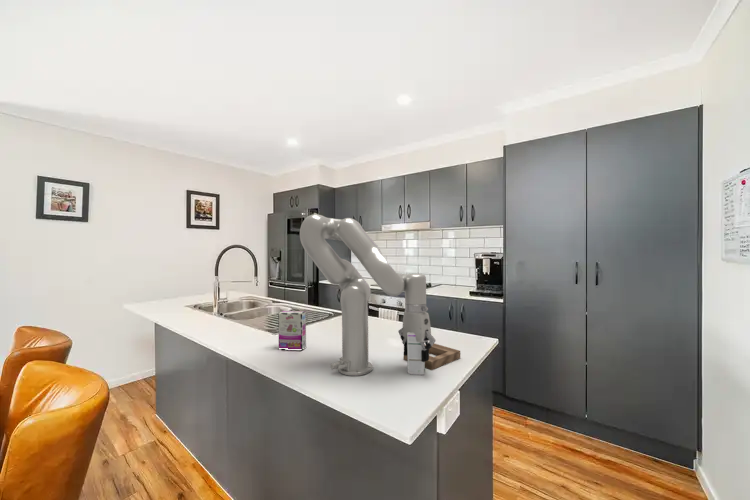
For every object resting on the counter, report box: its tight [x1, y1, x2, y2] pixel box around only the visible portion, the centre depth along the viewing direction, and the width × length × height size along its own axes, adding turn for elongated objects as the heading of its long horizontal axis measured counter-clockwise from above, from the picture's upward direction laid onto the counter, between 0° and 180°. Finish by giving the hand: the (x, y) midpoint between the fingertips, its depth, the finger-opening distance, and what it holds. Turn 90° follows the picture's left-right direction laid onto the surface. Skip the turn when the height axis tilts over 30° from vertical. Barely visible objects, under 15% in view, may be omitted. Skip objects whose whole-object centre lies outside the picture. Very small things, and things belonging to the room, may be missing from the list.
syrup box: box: [407, 332, 426, 376], centre depth 106 cm, size 6×6×14 cm
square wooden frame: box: [403, 343, 461, 371], centre depth 118 cm, size 18×14×3 cm
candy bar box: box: [277, 310, 307, 349], centre depth 132 cm, size 11×5×16 cm, turn 80°
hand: (416, 357), depth 106 cm, fingers closed on syrup box, 7 cm apart
